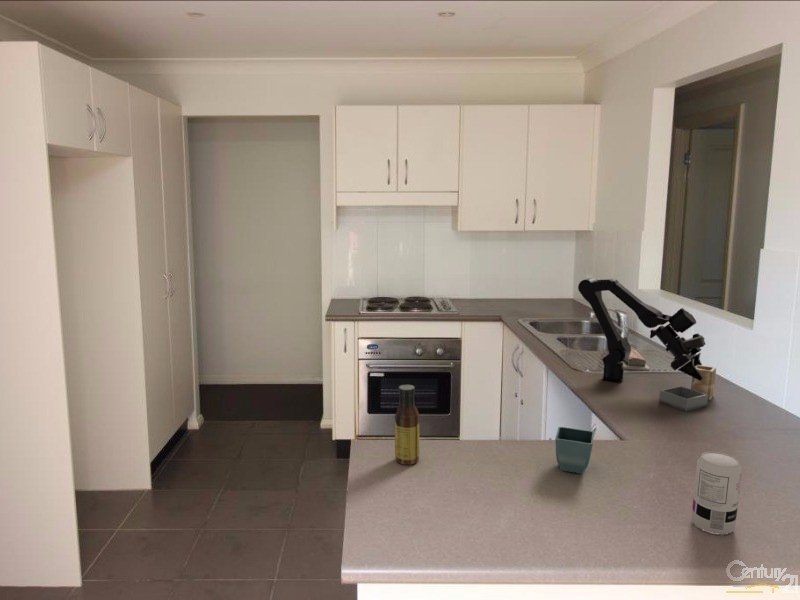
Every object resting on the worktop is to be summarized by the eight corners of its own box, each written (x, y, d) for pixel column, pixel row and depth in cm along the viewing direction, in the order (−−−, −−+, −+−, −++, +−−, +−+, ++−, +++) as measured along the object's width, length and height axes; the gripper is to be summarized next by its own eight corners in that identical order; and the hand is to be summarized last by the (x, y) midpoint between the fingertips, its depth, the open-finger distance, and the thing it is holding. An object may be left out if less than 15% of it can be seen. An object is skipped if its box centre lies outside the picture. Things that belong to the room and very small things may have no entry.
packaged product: (614, 346, 262) (638, 347, 261) (613, 358, 263) (637, 359, 262) (624, 358, 244) (651, 359, 243) (623, 370, 245) (650, 371, 244)
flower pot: (591, 464, 160) (594, 430, 159) (590, 479, 152) (592, 443, 151) (556, 458, 163) (558, 426, 162) (553, 473, 155) (555, 438, 153)
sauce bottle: (407, 453, 165) (408, 380, 162) (424, 461, 161) (426, 386, 157) (388, 461, 161) (389, 386, 157) (406, 468, 156) (407, 392, 153)
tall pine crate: (690, 396, 214) (693, 368, 212) (694, 392, 218) (697, 364, 217) (709, 400, 210) (712, 371, 208) (713, 395, 215) (716, 367, 213)
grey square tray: (658, 401, 208) (660, 390, 207) (679, 397, 213) (680, 385, 212) (685, 411, 199) (687, 399, 199) (706, 406, 204) (708, 394, 203)
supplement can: (683, 516, 135) (690, 450, 133) (720, 515, 136) (727, 450, 133) (704, 537, 127) (712, 468, 125) (743, 536, 128) (751, 466, 125)
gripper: (684, 331, 206) (718, 370, 201) (697, 322, 221) (728, 358, 216) (657, 351, 212) (689, 389, 207) (671, 340, 227) (701, 376, 222)
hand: (703, 377), depth 213 cm, fingers closed on tall pine crate, 6 cm apart
